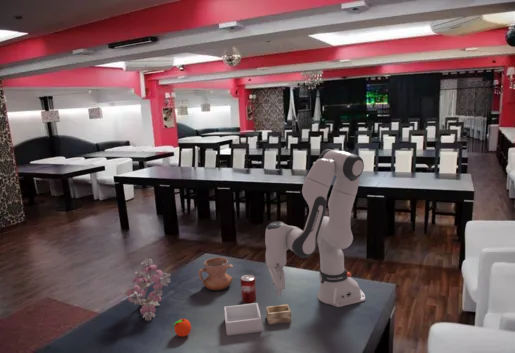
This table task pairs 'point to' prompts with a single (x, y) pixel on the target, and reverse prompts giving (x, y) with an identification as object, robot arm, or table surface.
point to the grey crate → (243, 319)
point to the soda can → (248, 289)
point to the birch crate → (278, 314)
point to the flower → (138, 290)
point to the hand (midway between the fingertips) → (276, 289)
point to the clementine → (182, 327)
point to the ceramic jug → (216, 273)
